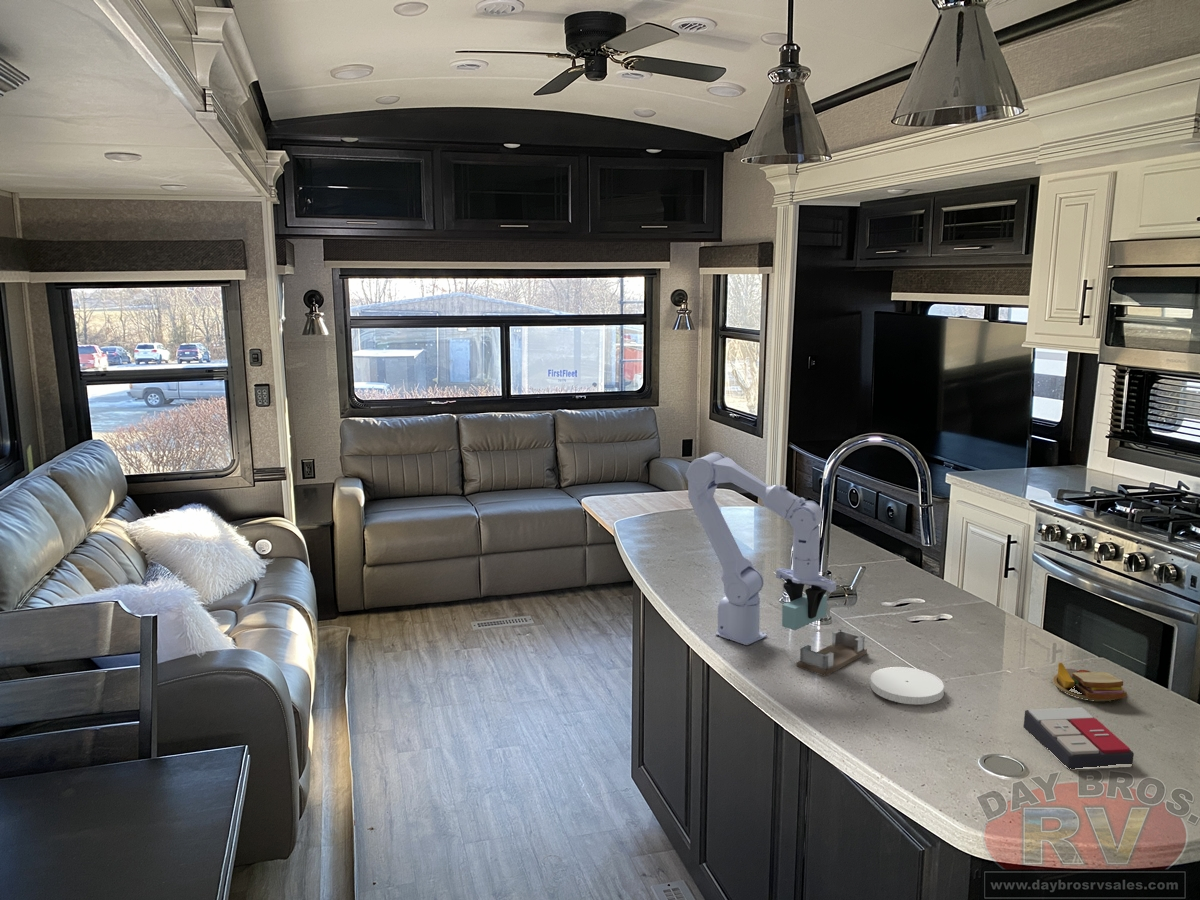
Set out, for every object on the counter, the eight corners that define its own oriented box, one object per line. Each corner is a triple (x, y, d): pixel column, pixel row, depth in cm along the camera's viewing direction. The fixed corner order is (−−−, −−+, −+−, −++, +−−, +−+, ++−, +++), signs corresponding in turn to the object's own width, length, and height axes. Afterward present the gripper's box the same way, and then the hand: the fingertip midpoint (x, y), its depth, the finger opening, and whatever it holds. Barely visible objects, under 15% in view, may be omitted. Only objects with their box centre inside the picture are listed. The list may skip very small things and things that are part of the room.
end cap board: (797, 666, 190) (797, 662, 190) (839, 644, 201) (839, 640, 201) (825, 676, 185) (825, 671, 185) (866, 653, 196) (866, 649, 196)
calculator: (1070, 752, 147) (1024, 706, 161) (1068, 775, 148) (1022, 727, 162) (1135, 749, 147) (1083, 703, 162) (1132, 772, 148) (1081, 724, 163)
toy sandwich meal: (1111, 679, 181) (1113, 657, 180) (1135, 709, 168) (1137, 686, 167) (1045, 675, 184) (1046, 653, 183) (1063, 704, 171) (1065, 681, 170)
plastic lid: (876, 707, 171) (876, 695, 171) (865, 676, 185) (865, 665, 185) (951, 710, 170) (952, 698, 169) (934, 679, 183) (935, 667, 183)
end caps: (800, 661, 190) (800, 648, 190) (838, 641, 200) (839, 629, 200) (825, 670, 185) (826, 657, 185) (864, 649, 196) (864, 636, 195)
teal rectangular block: (782, 626, 196) (782, 604, 195) (813, 612, 203) (814, 591, 203) (794, 630, 193) (795, 608, 192) (826, 616, 201) (826, 595, 200)
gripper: (768, 554, 198) (767, 611, 201) (824, 567, 188) (822, 628, 190) (786, 547, 203) (785, 603, 205) (842, 560, 192) (840, 619, 195)
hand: (804, 615), depth 198 cm, fingers closed on teal rectangular block, 3 cm apart
